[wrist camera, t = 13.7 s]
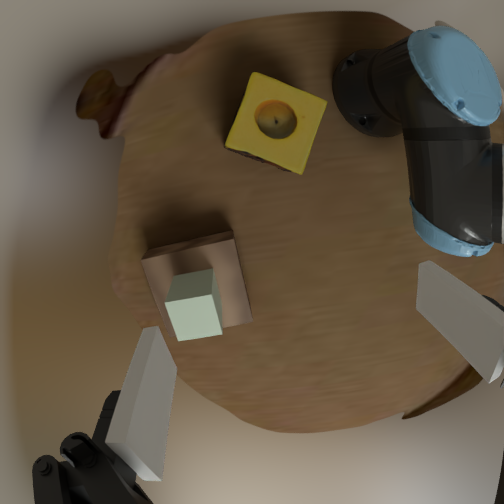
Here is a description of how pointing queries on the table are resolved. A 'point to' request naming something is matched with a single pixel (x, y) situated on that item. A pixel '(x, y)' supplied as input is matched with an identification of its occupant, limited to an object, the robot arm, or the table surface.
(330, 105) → the table surface
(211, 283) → the sage block
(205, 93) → the table surface
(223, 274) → the walnut block
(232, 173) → the table surface
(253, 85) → the candle
